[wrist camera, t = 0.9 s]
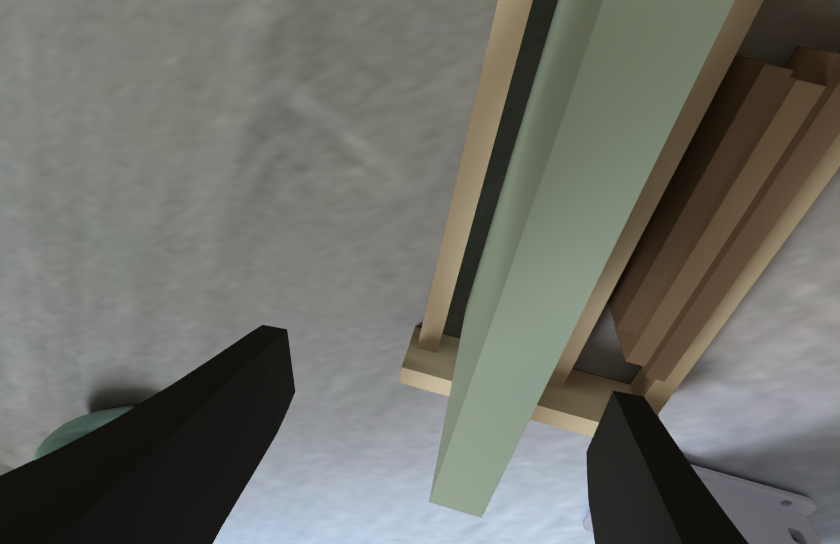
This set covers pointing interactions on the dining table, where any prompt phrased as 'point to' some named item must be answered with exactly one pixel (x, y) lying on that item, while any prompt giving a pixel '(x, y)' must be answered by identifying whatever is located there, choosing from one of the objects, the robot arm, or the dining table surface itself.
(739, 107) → the offcut stack
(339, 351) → the dining table surface
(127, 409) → the stuffed animal
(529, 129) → the large sage green box
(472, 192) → the offcut rack
